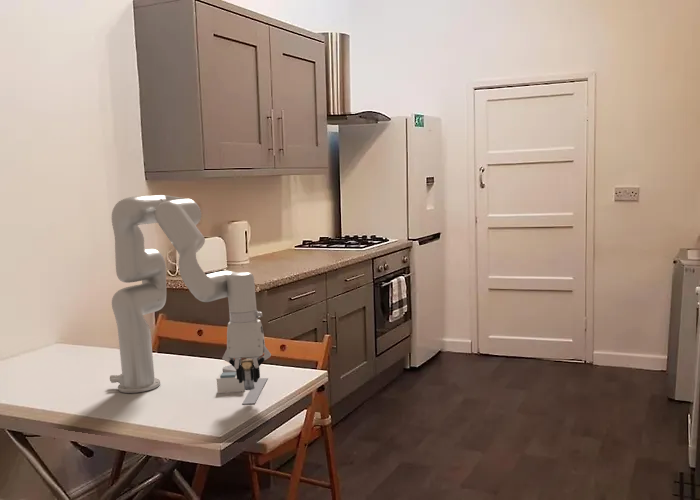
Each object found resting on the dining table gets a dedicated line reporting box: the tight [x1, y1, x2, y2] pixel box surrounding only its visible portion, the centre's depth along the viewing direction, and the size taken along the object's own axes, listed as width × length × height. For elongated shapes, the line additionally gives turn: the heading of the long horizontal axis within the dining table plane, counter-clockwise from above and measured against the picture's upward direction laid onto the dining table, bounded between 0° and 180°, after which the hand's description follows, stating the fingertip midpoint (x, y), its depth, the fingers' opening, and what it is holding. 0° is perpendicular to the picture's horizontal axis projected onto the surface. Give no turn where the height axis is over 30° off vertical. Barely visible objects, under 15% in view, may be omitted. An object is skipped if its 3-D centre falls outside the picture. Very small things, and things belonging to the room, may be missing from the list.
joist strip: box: [241, 377, 268, 406], centre depth 205 cm, size 4×24×1 cm, turn 178°
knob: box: [241, 358, 254, 391], centre depth 194 cm, size 4×4×8 cm
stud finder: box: [216, 372, 246, 394], centre depth 208 cm, size 8×4×5 cm, turn 88°
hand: (248, 380), depth 195 cm, fingers closed on knob, 3 cm apart
